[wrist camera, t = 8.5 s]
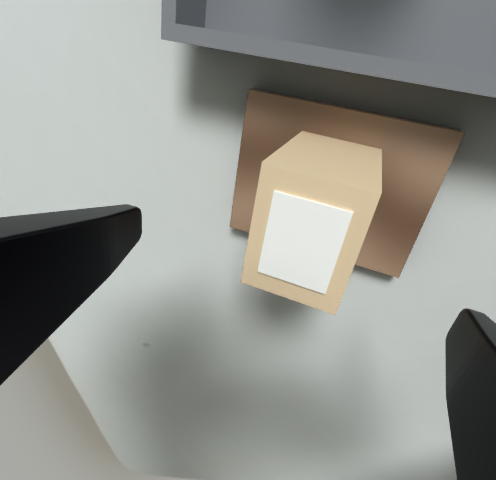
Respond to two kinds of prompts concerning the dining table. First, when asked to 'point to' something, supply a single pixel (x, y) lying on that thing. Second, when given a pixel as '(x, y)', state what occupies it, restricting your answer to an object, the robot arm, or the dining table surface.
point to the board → (361, 132)
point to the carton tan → (312, 218)
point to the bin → (352, 36)
